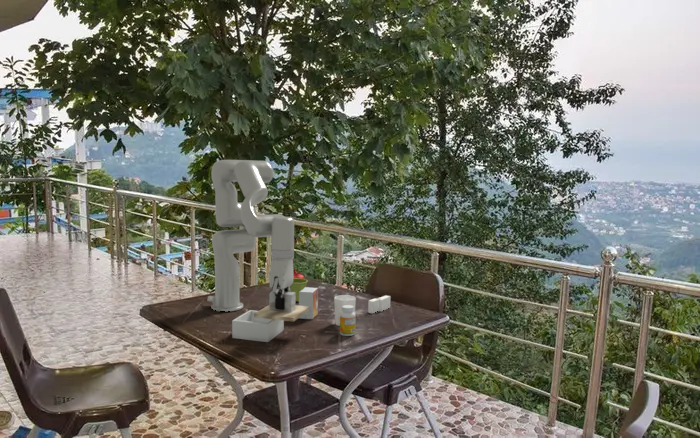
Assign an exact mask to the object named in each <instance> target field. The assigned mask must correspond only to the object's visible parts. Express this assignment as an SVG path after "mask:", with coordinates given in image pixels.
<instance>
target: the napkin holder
mask: <svg viewBox="0 0 700 438" xmlns="http://www.w3.org/2000/svg"><path fill="white" fill-rule="evenodd" d="M391 298H392V297H391V295H387V294H385V295H382V296H381V297H377V298H372V299H369V300H368V302H367V303H368V306H367V307H368V308H367V310H368V313H369V314H373V313H374V314H376V313H378V312H383V310H384V311H386V310H388V308H389V309H390V308H391ZM377 311H378V312H377ZM375 312H376V313H375Z"/></svg>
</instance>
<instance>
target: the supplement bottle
mask: <svg viewBox="0 0 700 438" xmlns="http://www.w3.org/2000/svg"><path fill="white" fill-rule="evenodd" d="M342 311H343V312H341V313H340V326H339V334H340V335H341V336H344V337H350V336H351V337H352V336H355V334H356V318H357V317H356V315H357V314H356V312H355V313H354V312H353V311H354V306H352V305H344V306H342Z"/></svg>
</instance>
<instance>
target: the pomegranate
mask: <svg viewBox="0 0 700 438" xmlns="http://www.w3.org/2000/svg"><path fill="white" fill-rule="evenodd" d="M293 274H294V275H293V279H294V278H299V279H306V278H305V276H304V274H302V273H300V271H297V270H296V268H295V269H294V268H293Z"/></svg>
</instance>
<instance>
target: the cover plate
mask: <svg viewBox="0 0 700 438" xmlns="http://www.w3.org/2000/svg"><path fill="white" fill-rule="evenodd" d="M279 291H280V292H281V290H279ZM268 295H269V296H268V297H269V302H268V303H269V304H268V305H267V306H265V307H263V308H262V309H259V310H257V311H258V312H256V313H255V314H254V317H256V318H265V319H275V320H284V322H285V321H287V322H295V321H297V320H298V319H300V318H299V317H300V316H302V315H303V314H304V313H306V312H307V311H308V310H309V306H299V304H298V305H297V304H296V302H297V301H296V292H285V291H284V297H283V298H285V309H284V310H280V309H275V294H274V293H273V292H272V291H270V292H269V294H268Z"/></svg>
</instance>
